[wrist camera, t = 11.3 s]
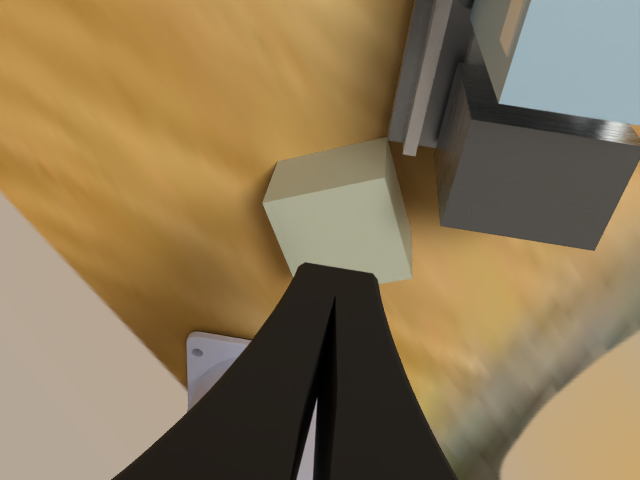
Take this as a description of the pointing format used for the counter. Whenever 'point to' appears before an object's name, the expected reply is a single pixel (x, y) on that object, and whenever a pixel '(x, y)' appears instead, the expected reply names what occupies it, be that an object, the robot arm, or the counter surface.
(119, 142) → the counter surface
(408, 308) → the counter surface
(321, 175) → the block
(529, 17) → the block
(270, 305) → the counter surface
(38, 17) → the counter surface
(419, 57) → the rail base
